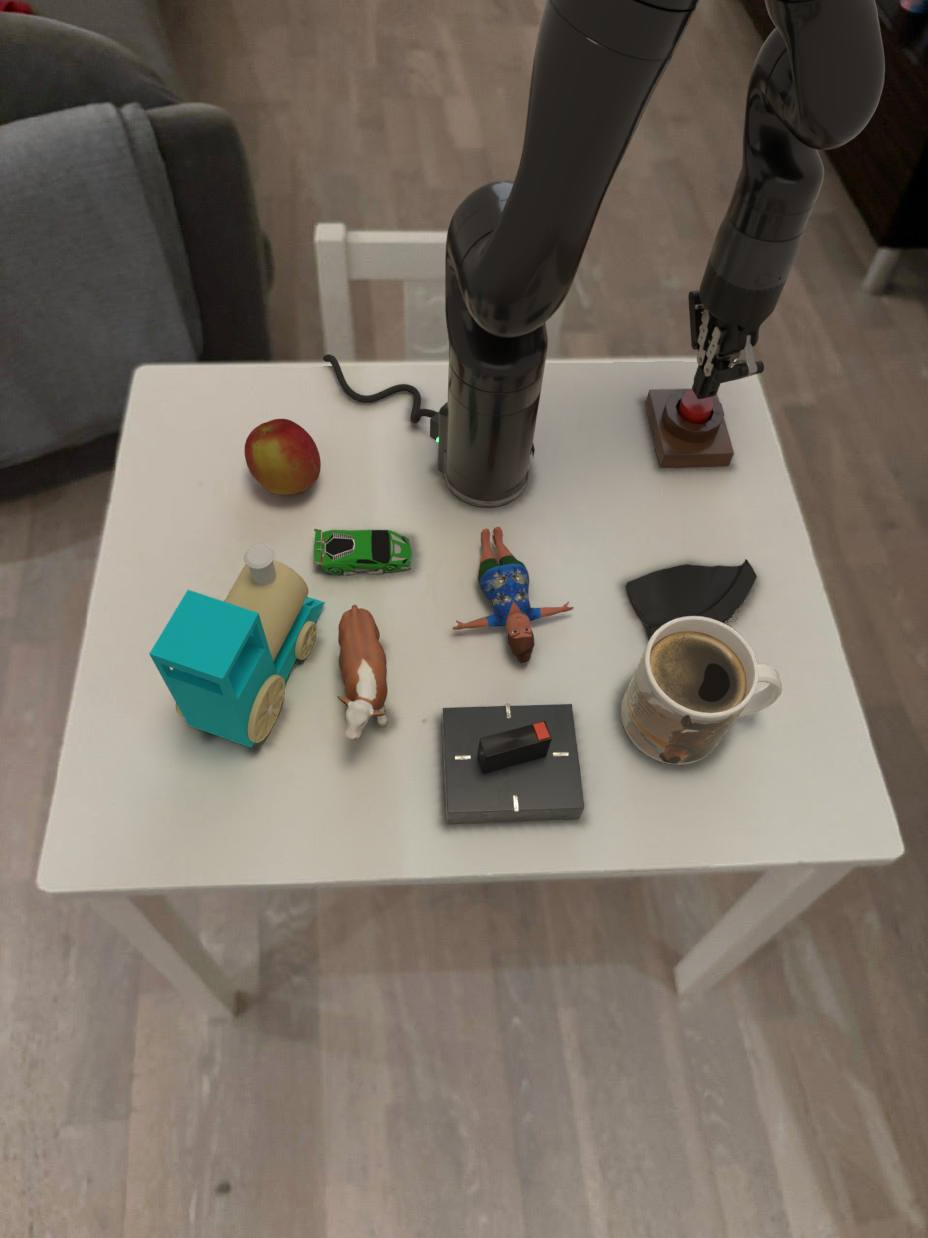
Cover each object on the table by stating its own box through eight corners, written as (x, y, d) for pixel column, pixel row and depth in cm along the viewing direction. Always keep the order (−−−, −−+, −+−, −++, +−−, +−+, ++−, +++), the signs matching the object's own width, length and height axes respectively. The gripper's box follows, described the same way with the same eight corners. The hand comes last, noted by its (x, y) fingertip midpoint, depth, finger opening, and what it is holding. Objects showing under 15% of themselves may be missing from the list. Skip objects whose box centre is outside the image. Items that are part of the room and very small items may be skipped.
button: (712, 423, 101) (717, 412, 100) (681, 424, 101) (685, 413, 100) (706, 399, 103) (710, 388, 102) (675, 400, 103) (679, 389, 101)
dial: (483, 774, 80) (486, 756, 76) (476, 756, 81) (479, 737, 77) (546, 756, 81) (552, 737, 77) (539, 738, 82) (545, 719, 78)
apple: (311, 446, 102) (303, 395, 95) (331, 500, 98) (324, 451, 91) (244, 462, 100) (231, 412, 93) (262, 518, 97) (250, 470, 90)
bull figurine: (343, 764, 83) (336, 729, 76) (341, 637, 90) (335, 593, 83) (391, 761, 83) (388, 726, 76) (386, 634, 90) (382, 591, 83)
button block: (728, 466, 103) (739, 442, 99) (659, 468, 102) (668, 444, 99) (710, 401, 108) (720, 376, 104) (644, 402, 107) (652, 377, 104)
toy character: (551, 509, 93) (592, 633, 86) (546, 536, 97) (585, 657, 90) (432, 527, 91) (464, 655, 84) (431, 554, 95) (462, 678, 88)
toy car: (410, 536, 96) (410, 523, 94) (412, 573, 94) (412, 561, 92) (316, 539, 95) (313, 526, 94) (315, 576, 93) (313, 564, 91)
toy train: (332, 609, 91) (318, 520, 78) (261, 754, 83) (231, 682, 70) (261, 586, 92) (235, 494, 79) (183, 727, 84) (140, 650, 71)
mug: (655, 649, 90) (682, 590, 81) (763, 714, 87) (805, 661, 78) (601, 727, 86) (624, 675, 76) (713, 799, 83) (752, 753, 73)
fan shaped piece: (774, 618, 93) (779, 610, 91) (654, 652, 90) (657, 644, 89) (737, 553, 97) (742, 545, 95) (621, 584, 94) (624, 576, 93)
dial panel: (446, 825, 80) (447, 813, 78) (441, 719, 86) (442, 705, 83) (579, 820, 81) (585, 808, 78) (567, 716, 86) (572, 701, 84)
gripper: (820, 299, 82) (760, 429, 97) (754, 209, 88) (707, 345, 103) (747, 314, 81) (697, 444, 96) (684, 222, 87) (647, 358, 102)
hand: (702, 392), depth 99 cm, fingers closed
